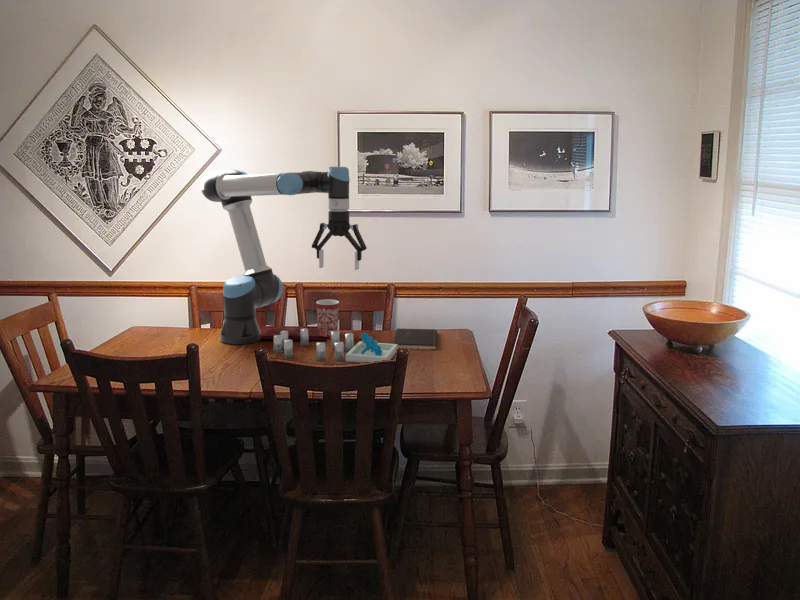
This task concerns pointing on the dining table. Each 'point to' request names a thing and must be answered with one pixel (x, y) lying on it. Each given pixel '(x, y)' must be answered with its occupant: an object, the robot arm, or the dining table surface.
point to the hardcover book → (416, 338)
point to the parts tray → (368, 356)
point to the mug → (327, 315)
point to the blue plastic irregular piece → (371, 344)
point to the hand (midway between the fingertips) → (339, 268)
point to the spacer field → (287, 344)
